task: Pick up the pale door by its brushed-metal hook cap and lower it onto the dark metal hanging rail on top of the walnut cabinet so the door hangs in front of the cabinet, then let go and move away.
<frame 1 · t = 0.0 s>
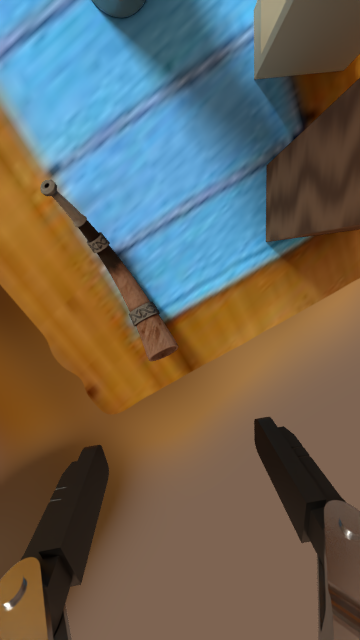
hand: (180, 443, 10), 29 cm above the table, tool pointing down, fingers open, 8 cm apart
cabinet: (315, 199, 34), on the table
drinking horn: (128, 282, 36), on the table
door: (299, 75, 29), on the table
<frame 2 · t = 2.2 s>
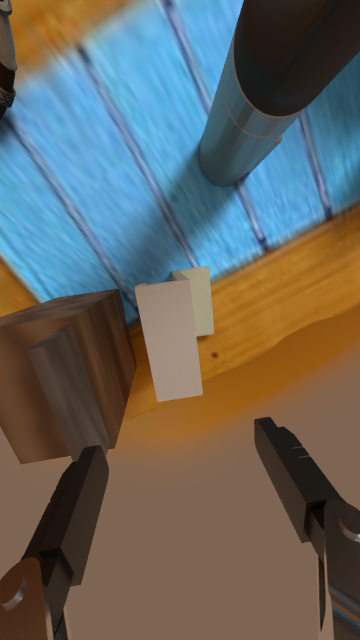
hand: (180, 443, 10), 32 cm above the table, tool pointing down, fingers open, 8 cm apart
cabinet: (100, 334, 41), on the table
door: (176, 305, 40), on the table
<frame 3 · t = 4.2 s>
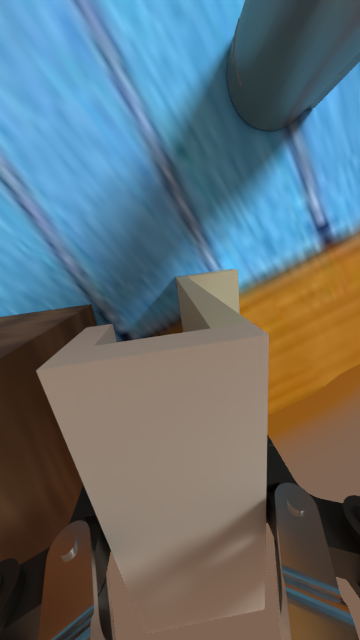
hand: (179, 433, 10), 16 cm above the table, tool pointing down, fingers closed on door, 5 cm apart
cabinet: (65, 373, 26), on the table
door: (182, 328, 26), on the table, touching gripper
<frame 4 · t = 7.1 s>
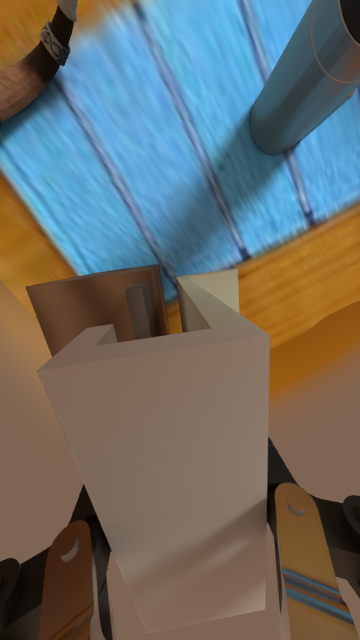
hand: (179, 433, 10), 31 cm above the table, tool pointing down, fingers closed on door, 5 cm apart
cabinet: (137, 312, 40), on the table
drinking horn: (27, 98, 29), on the table
door: (182, 329, 26), point 15 cm above the table, touching gripper
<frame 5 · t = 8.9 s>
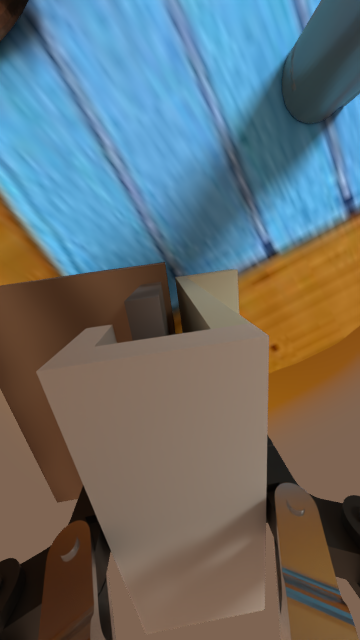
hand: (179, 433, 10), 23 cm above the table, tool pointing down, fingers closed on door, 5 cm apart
cabinet: (138, 321, 33), on the table
door: (182, 329, 26), point 7 cm above the table, touching gripper
when the fingers open (23 cm above the table, at t = 10.3 s): door moves 1 cm, resting on cabinet.
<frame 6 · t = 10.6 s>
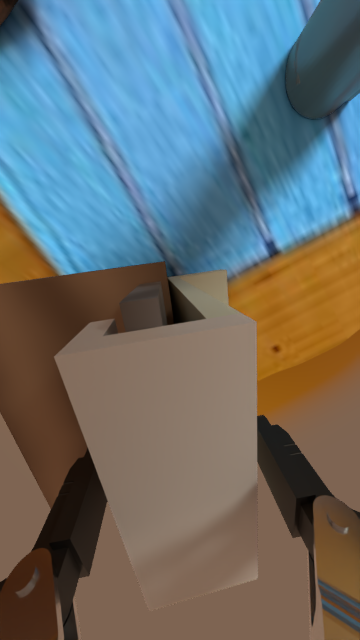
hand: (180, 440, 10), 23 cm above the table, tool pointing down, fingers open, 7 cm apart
cabinet: (137, 321, 32), on the table
door: (174, 327, 26), point 6 cm above the table, touching cabinet
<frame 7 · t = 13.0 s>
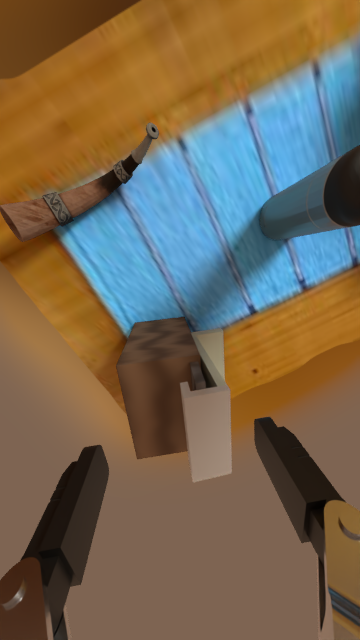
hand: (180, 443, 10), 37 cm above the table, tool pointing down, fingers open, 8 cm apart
cabinet: (164, 352, 49), on the table
drinking horn: (92, 198, 38), on the table
door: (190, 361, 43), point 6 cm above the table, touching cabinet
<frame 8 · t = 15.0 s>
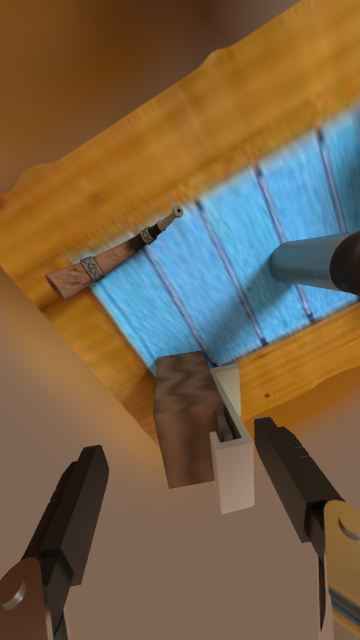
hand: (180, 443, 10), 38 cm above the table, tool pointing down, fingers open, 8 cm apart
cabinet: (183, 382, 53), on the table
drinking horn: (120, 255, 42), on the table
door: (209, 392, 48), point 6 cm above the table, touching cabinet
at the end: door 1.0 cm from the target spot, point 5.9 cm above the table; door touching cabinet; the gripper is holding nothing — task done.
